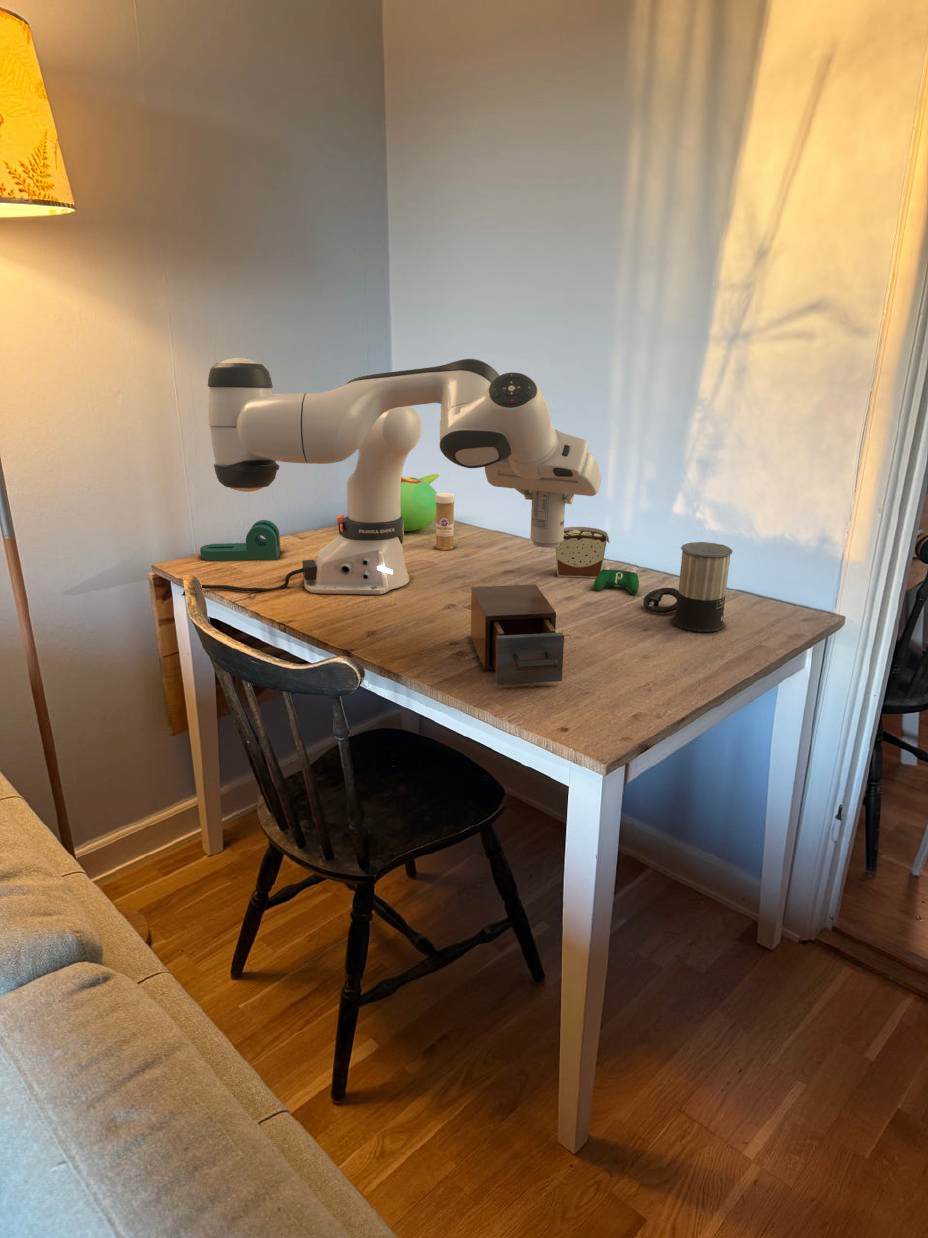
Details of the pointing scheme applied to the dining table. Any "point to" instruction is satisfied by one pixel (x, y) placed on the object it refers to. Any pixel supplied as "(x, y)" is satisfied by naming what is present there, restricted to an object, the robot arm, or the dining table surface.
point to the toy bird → (417, 502)
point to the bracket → (247, 545)
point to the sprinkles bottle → (444, 521)
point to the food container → (581, 552)
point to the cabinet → (504, 612)
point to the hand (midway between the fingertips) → (550, 498)
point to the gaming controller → (617, 579)
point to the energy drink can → (547, 519)
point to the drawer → (526, 651)
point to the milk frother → (697, 588)
